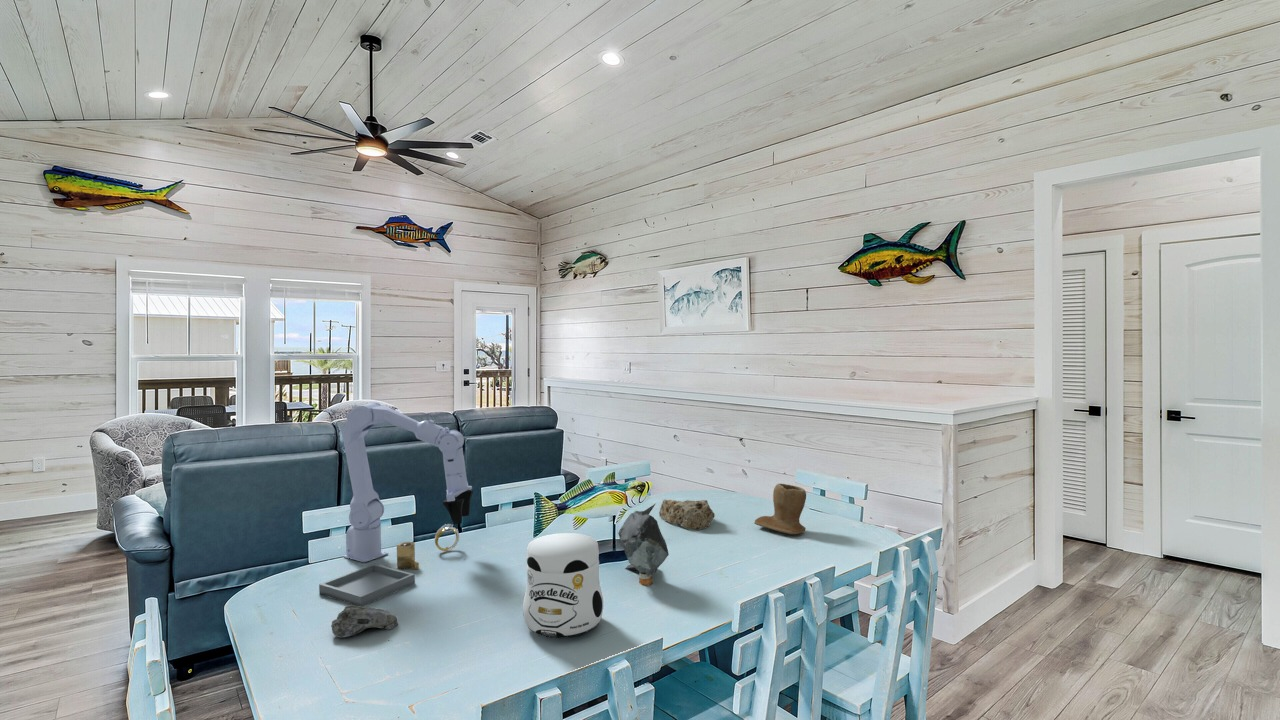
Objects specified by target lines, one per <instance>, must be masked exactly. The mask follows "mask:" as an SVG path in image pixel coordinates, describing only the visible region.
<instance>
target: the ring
mask: <svg viewBox="0 0 1280 720" xmlns="http://www.w3.org/2000/svg"><path fill="white" fill-rule="evenodd" d="M453 526H454V524H453V523H447V524H446V523H444V525H441V527H440V528H439V529H437V531H436V533H435V536H434V544H435V546H436V547H437V549H438V550H439V551H442V552H450V551H451V550H454V549H455V547H456V546H458V543H459V541H460V533H459V531H458V529H457V528H456V527H453ZM449 530H450V531H453V532H454V534H455V541H454V543H453V544H452V545H450V547H449V546H447V547H445V548H443V547H441V546H440V545H439V539H440V537H441V536H442V534H444V533H445V532H446V531H449Z"/></svg>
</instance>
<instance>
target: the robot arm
mask: <svg viewBox="0 0 1280 720" xmlns="http://www.w3.org/2000/svg"><path fill="white" fill-rule="evenodd" d="M380 424H390V425H393V426H395V427H398V428H401V429H403V430H406V431H409V432H412V433H413V434H414V436H415V438H416V439H417V440H420V441H422V442H424V443H427V444H430V445H431V446H434V447H436V448H438V449H439V451H440V452H441V453H442V461H443V468H444V469H443V470H444V474H445V475H444V476H445V483H446V489H445V490H446V494H445V495H446V496H445V497H446V499H444V500H443V501H442V505H443V506H444V507H445V509H446V510H447V511H448V513H449V516H450V518H451V521H452V524H453V525H461V524H462V522H463V517H468V516H469V515H470V511H471V509H470V508H471V500H472V496H473V493H474V489H473V486H472V485H469V481H468V479H467V478H468V477H467V471H466V469H467V468H466V465H465V464H466V463H465V456H464V450H463V449H464V448H463V446H464V443H465V437H464V435H463V434H462V433H461V432H460V431H459V430H457V429H451V430H450V428H449V427H447V426H446V427H443V426H442V425H438V424H437V423H435V421H434V420H433V419H429V420H428V419H427V420H426V419H424V420H422V421H418V420H417V419H414V418H412V417H409V416H408V415H405V414H403V413H401V412H399V411H397V410H395V409H393V408H391V407H389V406H388V405H384V404H380V403H378V402H377V401H376V402H375V401H374V402H370V403H366V404H360V405H356V406H354V407H353V408H352V409H350V411H349V412H348V413H347V414H346V422H345V424H344V428H343V430H342V442H343V446H344V452H345V453H344V454H345V457H346V463H347V468H348V473H349V480H350V483H351V489H352V499H351V500H350V502H349V503H350V504H349V508H350V510H349V511H350V512H349V515H348V519H349V524H350V525H351V526H349V527H348V529H347V531H346V532H345V533H346V534H345V549H346V550H345V551H346V552H345V553H346V554H344V555H343V558H346V559H349V558H350V560H352V561H353V560H354V561H358V562H362V563H367V562H370V561H373V560H375V559H378V558H381V557H383V556H386V555H388V554H389V552H388V551H385V550H382V531H381V530H382V525H381V524H382V523H381V518H382V516H383V515H384V513H385V506H384V504H383V502H382V501H381V500H380V497H379V494H378V492H376V490H375V489H374V485H373V480H372V476H371V475H372V474H371V470H370V464H369V463H370V462H369V460H368V454H367V448H366V442H365V437H366V435H367V434H368V432H369V431H370V430H371V429H372V428H373V427H375V426H376V425H380ZM469 517H470V516H469Z"/></svg>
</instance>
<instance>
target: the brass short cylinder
mask: <svg viewBox="0 0 1280 720" xmlns="http://www.w3.org/2000/svg"><path fill="white" fill-rule="evenodd" d="M415 546H416V545H415V542H413V541H405V542H400V543H398V544H396V567H397V570H408V569H411V570H417V569H419V567H420V565H419V563H420V562H418V561H416V559H415V558H416V554H415V553H416V552H415V551H416V550H415V549H416V547H415Z"/></svg>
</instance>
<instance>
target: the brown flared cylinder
mask: <svg viewBox="0 0 1280 720" xmlns="http://www.w3.org/2000/svg"><path fill="white" fill-rule="evenodd" d="M772 499H773V500H772V501H773V507H774V511H773V512H774V514H773V515H772V516H771V515H770V516H769V515H763V516H758V518H756V519H755V520H754V522H753V524H755V525H757V526H759V527H762V528H766V529H769V530H771V531H774V532H775V531H776V532H779V533H783V534H787V535H800V534H803V533H805V531H806V527H805V526H804V525H802V523H801V522H800V518H801V515H802V512H803V510H804V507H805V505H806V504H805V503H806V501H807V500H806V499H807V492H806V490H805V489H804V488H803V487H800V486H796V485H791V484H786V483H777V484H776V485H775V486H774V489H773V494H772Z"/></svg>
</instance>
